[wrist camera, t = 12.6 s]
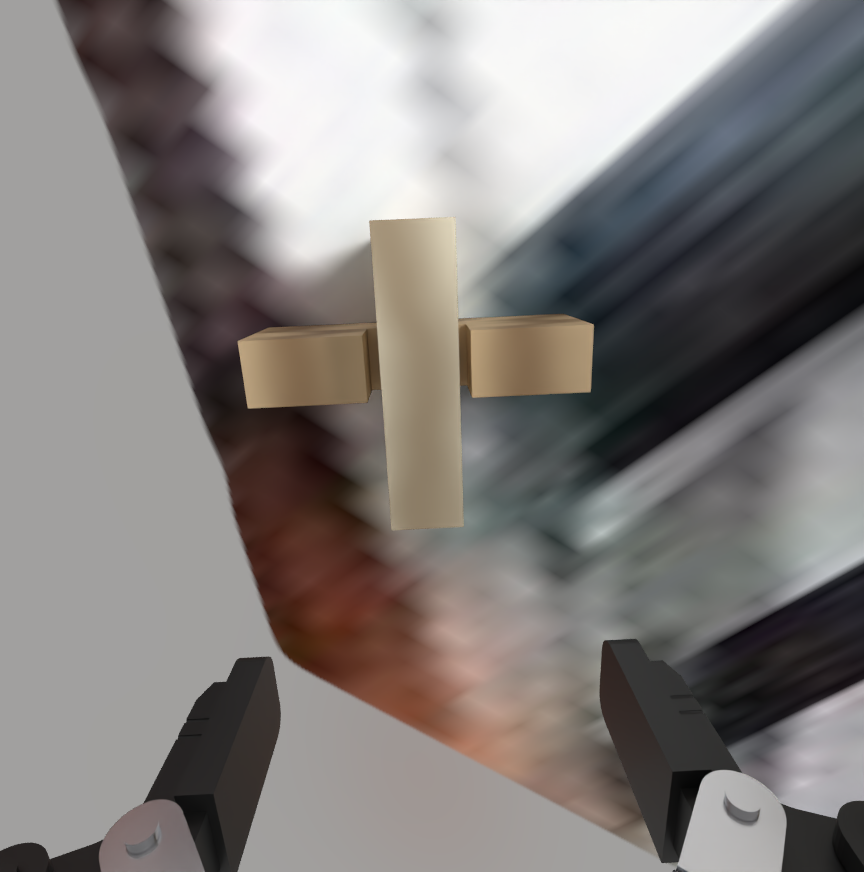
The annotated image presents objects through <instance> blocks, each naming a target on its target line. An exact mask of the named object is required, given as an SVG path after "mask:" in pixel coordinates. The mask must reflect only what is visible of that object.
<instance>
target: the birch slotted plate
mask: <svg viewBox="0 0 864 872" xmlns="http://www.w3.org/2000/svg"><path fill="white" fill-rule="evenodd" d="M369 223H370V237H371V251H372V265H373V279H374V293H375V307H376V320H377V334H378V348H379V362H380V376H381V390H382V404H383V418H384V432H385V446H386V460H387V474H388V487H389V501H390V515H391V529H392V530H409V529H429V528H449V527H464V521H463V484H462V446H461V408H460V371H459V333H458V296H457V258H456V220H455V217H443V218H419V219H396V220H373V221H369Z"/></svg>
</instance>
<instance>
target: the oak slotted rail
mask: <svg viewBox="0 0 864 872" xmlns="http://www.w3.org/2000/svg"><path fill="white" fill-rule="evenodd" d="M458 333H459V371H460V386H465V385H467V386H468V389H469V391H470V394H471V396H472V398H478V397H498V396H519V395H540V394H561V393H582V392H591V375H592V354H593V333H594V324H591V323H588V322H585V321H582V320H580V319H577V318H574V317H571V316H568V315H565V314H550V315H528V316H506V317H485V318H463V319H458ZM238 347H239V354H240V360H241V367H242V373H243V380H244V387H245V393H246V400H247V406H248V408H269V407H290V406H311V405H332V404H352V403H367V402H368V400H369V397H370V394H371V391H372V390H381V376H380V362H379V348H378V334H377V323H356V324H334V325H313V326H291V327H270V328H267V329H264V330H262V331H260V332H258V333H255V334H253V335H251V336H248V337H246V338H244V339H242V340H239V341H238Z"/></svg>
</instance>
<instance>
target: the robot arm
mask: <svg viewBox="0 0 864 872" xmlns="http://www.w3.org/2000/svg"><path fill="white" fill-rule="evenodd" d="M600 704H601V709H602V714H603V717H604V720H605V723H606V725H607V728H608V730H609V733H610V735H611V738H612V740H613V743H614V745H615V748H616V750H617V753H618V755H619V758H620V760H621V763H622V765H623V768H624V770H625V773H626V775H627V778H628V780H629V783H630V785H631V788H632V790H633V793H634V795H635V798H636V800H637V803H638V805H639V808H640V810H641V813H642V815H643V818H644V820H645V823H646V825H647V828H648V830H649V833H650V835H651V838H652V840H653V843H654V845H655V848H656V850H657V853H658V855H659V858H660V860H661V863H671V862H679V863H678V866H677V869H676V871H675V870H673V872H864V801H852V802H849V803H846V804H845V805H843V806H842V807H841V808H840V810H839V813H838V816H837V819H835V818H831V817H827V816H823V815H819V814H815V813H810V812H806V811H802V810H798V809H795V808H791V807H788V806H786V805H783V804H781V803H780V802H779V800H778V799H777V798H776V797H775V795H774V794H773V793H772V792H771V791H770V790H769V789H768V788H767V787H765V786H764V785H763V784H762V783H760V782H758V781H757V780H755V779H754V778H752V777H750V776H748V775H745V774H743V773H742V772H741V770H740V769H739V767H738V765H737V764H736V762H735V761H734V759H733V758H732V756H731V754H730V753H729V751H728V750H727V748H726V746H725V745H724V743H723V742H722V740H721V738H720V737H719V735H718V734H717V732H716V730H715V729H714V727H713V726H712V724H711V723H710V721H709V719H708V718H707V716H706V715H705V714H703V711H702V708H701V707H700V705H699V703H698V702H697V700H696V699H695V698H693V694H692V692H691V691H690V689H689V688H688V686H687V684H686V683H685V681H684V680H683V678H682V676H681V675H679V674H678V673H677V672H676V671H675V670H673V669H672V668H671V667H670V666H669V665H667V664H666V663H665V662H664V661H650V660H649V659H648V657H647V655H646V653H645V652H644V650H643V648H642V646H641V645H640V643H639V642H638V641H637V640H636V639H624V640H605V641H604V642H603V646H602V659H601V675H600ZM280 717H281V712H280V702H279V697H278V690H277V684H276V678H275V672H274V666H273V661H272V659H271V657H255V658H254V657H253V658H239V659H237V661H236V662H235V664H234V666H233V668H232V671H231V673H230V675H229V677H228V679H227V681H226V682H214V683H213V684H212V685H211V686H210V687H209V688H208V689H207V690H206V691H205V692H204V693H203V694H202V695H201V696H200V697H199V698H198V699H197V700H196V702H195V704H194V706H193V708H192V710H191V712H190V714H189V716H188V717H187V722H186V723H184V725H183V727H182V729H181V731H180V733H179V736H178V740H176V741H175V743H174V745H173V747H172V749H171V751H170V753H169V755H168V757H167V759H166V760H165V762H164V764H163V767H162V768H161V770H160V772H159V774H158V776H157V779H156V780H155V782H154V784H153V786H152V788H151V790H150V792H149V794H148V796H147V798H146V800H145V801H144V803H143V804H141V805H139V806H137V807H135V808H133V809H132V810H130V811H129V812H127V813H126V814H125V815H123V816H122V817H121V818H120V819H119V820H118V821H117V822H116V823H115V824H114V825H113V826H112V827H111V828H110V830H109V831H108V833H107V834H106V836H105V838H104V839H103V840H101V841H99V842H97V843H95V844H92V845H89V846H86V847H84V848H81V849H78V850H75V851H72V852H70V853H66V854H64V855H61V856H58V857H55V858H52V859H49V856H48V853H47V851H46V849H45V848H44V847H43V846H41V845H39V844H36V843H22V844H17V845H14V846H11V847H8V848H6V849H4V850H2V851H0V872H237V871H238V867H239V864H240V861H241V858H242V854H243V851H244V848H245V844H246V841H247V838H248V835H249V831H250V828H251V824H252V821H253V818H254V814H255V811H256V808H257V805H258V801H259V798H260V795H261V791H262V788H263V785H264V781H265V778H266V774H267V771H268V768H269V764H270V761H271V758H272V755H273V751H274V748H275V744H276V741H277V738H278V734H279V729H280Z"/></svg>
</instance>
